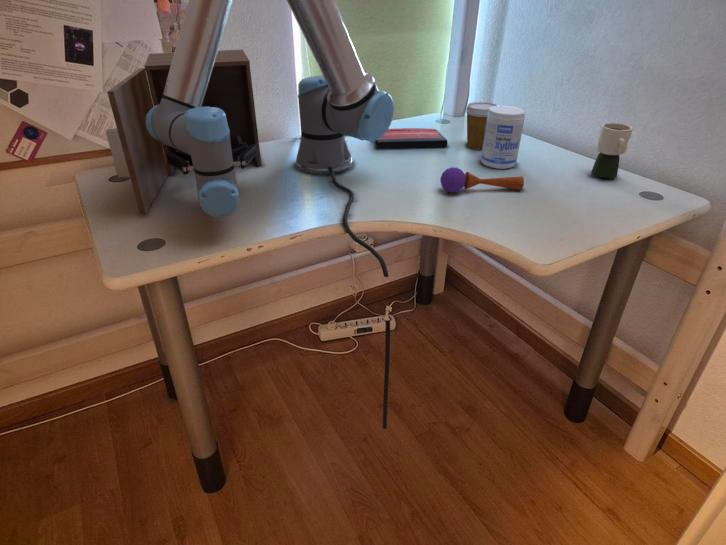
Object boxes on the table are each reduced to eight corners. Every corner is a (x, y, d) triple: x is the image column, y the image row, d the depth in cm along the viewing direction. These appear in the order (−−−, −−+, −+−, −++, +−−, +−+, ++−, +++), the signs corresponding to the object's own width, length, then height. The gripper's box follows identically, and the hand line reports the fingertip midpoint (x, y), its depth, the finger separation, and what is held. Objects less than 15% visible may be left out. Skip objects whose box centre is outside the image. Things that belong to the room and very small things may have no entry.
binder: (447, 139, 146) (377, 141, 145) (447, 147, 148) (377, 149, 146) (436, 126, 160) (372, 128, 159) (435, 133, 161) (372, 135, 160)
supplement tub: (493, 172, 131) (502, 116, 123) (473, 160, 138) (480, 107, 130) (523, 167, 134) (533, 112, 126) (502, 156, 141) (510, 103, 133)
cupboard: (274, 200, 115) (261, 79, 101) (127, 218, 108) (90, 89, 93) (254, 146, 149) (242, 49, 134) (141, 156, 141) (116, 55, 126)
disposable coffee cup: (495, 143, 151) (501, 103, 145) (491, 152, 144) (497, 111, 137) (464, 140, 154) (468, 100, 147) (459, 149, 146) (463, 108, 140)
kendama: (528, 179, 116) (445, 175, 114) (520, 200, 120) (440, 196, 118) (521, 166, 120) (441, 161, 118) (514, 186, 124) (436, 183, 122)
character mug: (625, 184, 124) (641, 133, 117) (597, 184, 124) (611, 132, 117) (608, 168, 133) (622, 120, 126) (582, 168, 133) (594, 120, 126)
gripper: (157, 197, 104) (161, 163, 121) (275, 183, 110) (263, 153, 127) (149, 162, 100) (154, 133, 117) (272, 151, 106) (260, 124, 123)
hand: (211, 143), depth 122 cm, fingers open, 13 cm apart
